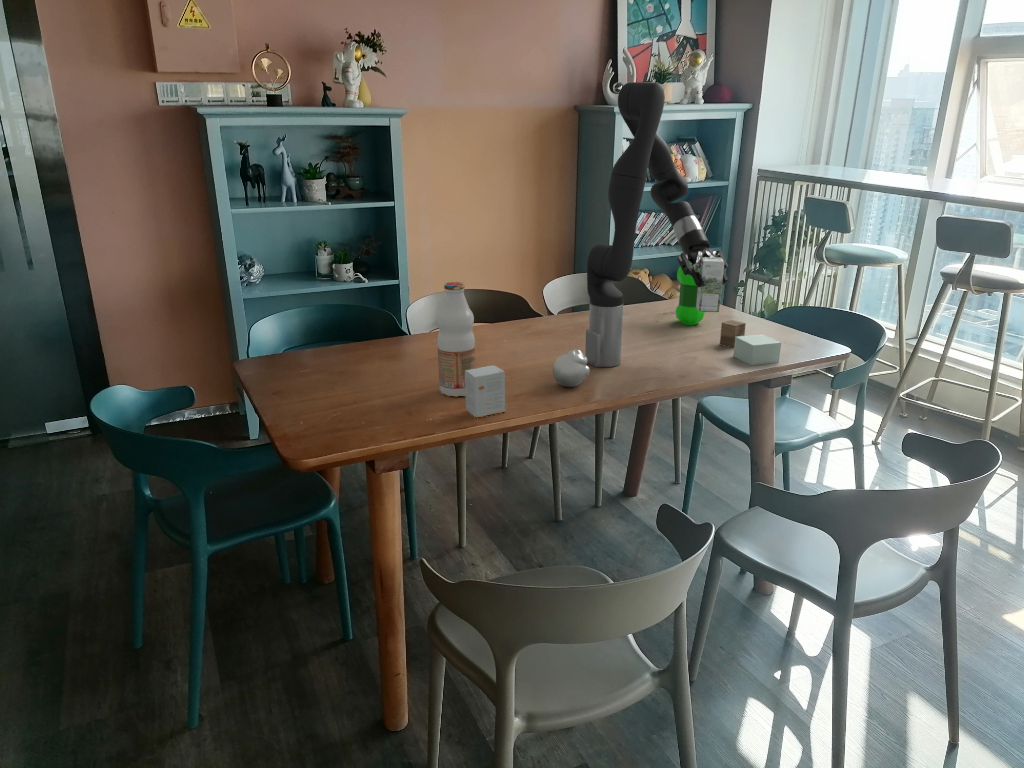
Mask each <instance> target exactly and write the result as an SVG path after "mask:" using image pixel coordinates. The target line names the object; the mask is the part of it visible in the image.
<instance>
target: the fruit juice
mask: <svg viewBox="0 0 1024 768" xmlns="http://www.w3.org/2000/svg"><path fill="white" fill-rule="evenodd" d="M443 285H444V287H443V288H444V292H445V294H444V298H443V301H442V304H441V307H440V309H439V311H438V313H437V316H436V322H437V323H436V324H437V326H438V330H439V331H438V335H437V342H436V344H437V363H438V367H437V369H438V386H439V387H438V389H439V392H440V391H441V392H442V393H444V394H448V395H466V391H465V370H470V369H476V367H477V366H476V339H475V337H476V336H475V335H474V332H473V327H474V323H475V322H474V321H475V317H474V313H473V311H472V310H471V309H470V306H469V304H468V301H467V298H466V296H465V294H464V291H465V283H463V282H460V281H449V282H445V283H444V284H443ZM441 392H440V393H441Z"/></svg>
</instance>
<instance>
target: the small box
mask: <svg viewBox="0 0 1024 768" xmlns="http://www.w3.org/2000/svg"><path fill="white" fill-rule="evenodd" d="M505 374H506V373H505V371H504V370H502V369H501V368H499V367H498V366H496V365H495V364H494V365H487V366H483V367H477V368H476V369H470V370H465V391H466V396H465V410H466V409H467V410H468V411H469V412H470V413H472V414H473V415H474V416H476V417H477V416H481V415H487V414H491V413H496V412H501V411H505V412H506V379H505V378H506V375H505Z"/></svg>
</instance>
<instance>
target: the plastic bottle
mask: <svg viewBox="0 0 1024 768" xmlns="http://www.w3.org/2000/svg"><path fill="white" fill-rule="evenodd" d="M689 263H690V266H691V262H690V261H689ZM686 269H687V268H686ZM698 272H699V269H698ZM676 278H677V281H678V282H679V283H680V284H679V285H680V286H679V296H678V297H679V299H678V304H677V307H676V309H675V313H674V314H675V317H676V318H677V319H678V321H679V322H681V324H683V325H687V326H695V325H697V324H698V323H700V322H701V321H703V319H704V317H705V314H706V312H699V311H698V309H697V308H696V300H697V290H698V286H697V285H696V284H695V282H694V280H693V277H692V276H690V275H684V273H683V271H682V268H681V266H680V265H679V267H678V269H677V272H676Z"/></svg>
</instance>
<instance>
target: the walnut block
mask: <svg viewBox="0 0 1024 768" xmlns="http://www.w3.org/2000/svg"><path fill="white" fill-rule="evenodd" d="M720 328H721V329H720V336H719V337H720V339H719V345H720V344H722V345H721V346H723V345H725V346H724V347H727V346H729V347H728V348H731V349H734V346H735V337H738V336H746V335H745V333H746V322H743V321H738V320H733V319H729V320H726V321H723V322H721V327H720Z"/></svg>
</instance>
